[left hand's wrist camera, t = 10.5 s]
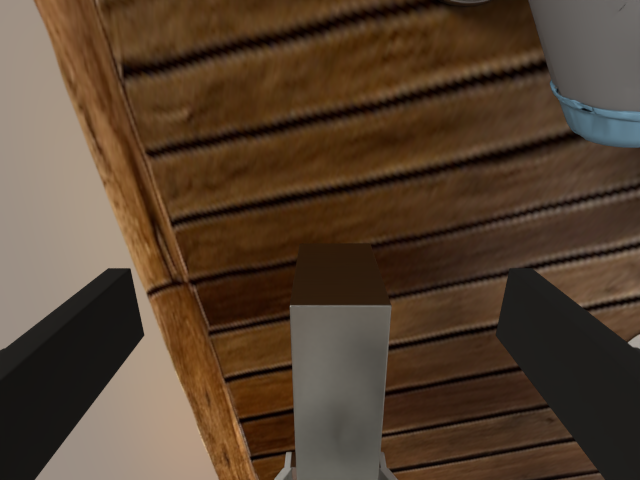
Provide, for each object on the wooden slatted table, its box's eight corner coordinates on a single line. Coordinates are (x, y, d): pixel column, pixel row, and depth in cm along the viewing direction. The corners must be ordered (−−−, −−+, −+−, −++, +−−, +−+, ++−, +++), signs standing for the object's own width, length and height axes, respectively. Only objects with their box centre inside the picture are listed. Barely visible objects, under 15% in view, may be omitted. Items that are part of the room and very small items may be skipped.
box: (299, 243, 31) (289, 305, 22) (370, 243, 31) (391, 305, 22) (304, 438, 40) (299, 546, 30) (360, 438, 40) (373, 547, 30)
